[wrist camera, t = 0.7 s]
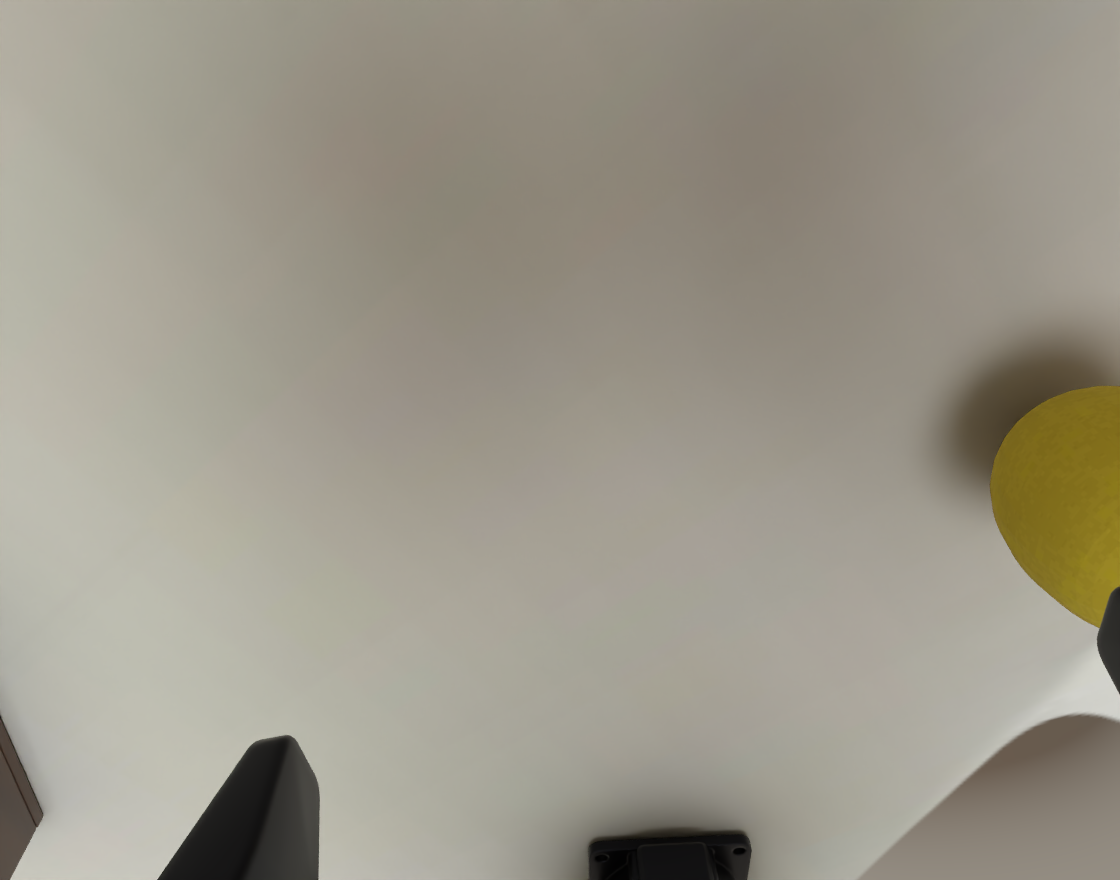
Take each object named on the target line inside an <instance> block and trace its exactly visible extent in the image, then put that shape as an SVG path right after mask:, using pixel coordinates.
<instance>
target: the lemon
mask: <svg viewBox="0 0 1120 880" xmlns="http://www.w3.org/2000/svg"><path fill="white" fill-rule="evenodd" d="M990 493H991V500H992V507H993V513H994V517H995V521H996V523H997V526H998V528H999V530H1000V532H1001V534H1002V536H1003V538H1004V540H1005V541H1006V543H1007V545H1008V547H1009V549H1010V550H1011V552H1012V554H1013V556H1014V557H1015V559H1016V560H1017V562H1018V563H1019V565H1020V566H1021V567H1022V568H1023V570H1024V571H1025V572H1026V573H1027V574H1028V575H1029V576H1030V577H1031V578H1032V579H1033V580H1034V581H1035V582H1036V583H1037V584H1038V585H1039V586H1040V587H1041V588H1042V589H1044V590H1045V591H1046V592H1047V593H1048V594H1049V595H1051V596H1052V597H1053V598H1054V599H1055V600H1056V601H1058V602H1059V603H1060V604H1061V605H1062V606H1064V607H1065V608H1066V609H1068V610H1069V611H1070V612H1072V613H1073V614H1075V615H1076V616H1078V617H1079V618H1081V619H1083V620H1084V621H1086V622H1088V623H1090V624H1092V625H1094V626H1096V627H1098V628H1100V625H1101V622H1102V619H1103V616H1104V612H1105V609H1106V606H1107V603H1108V599H1109V596H1110V594H1111V592H1112V591H1113V590H1114V589H1115V588H1117V587H1119V586H1120V386H1095V387H1089V388H1083V389H1077V390H1072V391H1069V392H1066V393H1063V394H1061V395H1058V396H1055V397H1053V398H1050V399H1048V400H1047V401H1045V402H1043V403H1042V404H1040V405H1038V406H1037V407H1035V408H1033V409H1032V410H1030V411H1029V412H1028V413H1027V414H1026V415H1025V416H1023V417H1022V418H1021V419H1020V420H1019V421H1018V422H1016V424H1015V425H1014V426H1013V428H1012V429H1011V430H1010V431H1009V433H1008V434H1007V435H1006V436H1005V438H1004V440H1003V442H1002V444H1001V446H1000V448H999V450H998V452H997V455H996V457H995V459H994V464H993V469H992V474H991V480H990Z"/></svg>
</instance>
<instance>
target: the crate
mask: <svg viewBox="0 0 1120 880" xmlns="http://www.w3.org/2000/svg"><path fill="white" fill-rule="evenodd" d="M42 818H43V814H42V812H41V809H40V807H39V805H38V803H37V800H36V798H35V796H34V794H33V791H32V789H31V787H30V785H29V782H28V780H27V778H26V775H25V773H24V771H23V769H22V766H21V764H20V762H19V760H18V757H17V755H16V753H15V751H14V748H13V746H12V744H11V741H10V739H9V737H8V735H7V732H6V730H5V728H4V726H3V723H2V721H1V719H0V880H10V878H11V877H12V875H13V873H14V871H15V869H16V867H17V865H18V863H19V861H20V859H21V857H22V855H23V853H24V852H25V850H26V848H27V846H28V844H29V842H30V840H31V838H32V836H33V834H34V832H35V830H36V827H38V826H39V824H40V822H41V820H42Z"/></svg>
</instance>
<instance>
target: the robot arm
mask: <svg viewBox="0 0 1120 880" xmlns="http://www.w3.org/2000/svg"><path fill="white" fill-rule="evenodd" d="M1097 646H1098V651H1099V654H1100V657H1101V659H1102V661H1103V663H1104V665H1105V667H1106V669H1107V671H1108V673H1109V675H1110V677H1111V679H1112V681H1113V683H1114V684H1115V686H1116V688H1117V690H1118V692H1119V694H1120V586H1119V587H1117V588H1115V589H1114V590H1113V591H1112V592H1111V594H1110V596H1109V599H1108V603H1107V606H1106V609H1105V612H1104V616H1103V619H1102V622H1101V625H1100V629H1099V632H1098V636H1097ZM319 810H320V795H319V787H318V782H317V779H316V776H315V774H314V772H313V770H312V769H311V767H310V765H309V763H308V761H307V759H306V757H305V756H304V754H303V752H302V750H301V748H300V746H299V744H298V743H297V741H296V740H295V738H293V737H291V736H289V735H284V736H278V737H273V738H267V739H262V740H259V741H256V742H255V743H253V744H252V745H251V746H250V747H249V748H248V749H247V751H246V752H245V754H244V755H243V757H242V758H241V760H240V761H239V762H238V764H237V765H236V767H235V768H234V770H233V771H232V773H231V774H230V775H229V777H228V778H227V780H226V781H225V783H224V784H223V786H222V787H221V788H220V790H219V791H218V793H217V794H216V796H215V797H214V799H213V800H212V801H211V803H210V804H209V806H208V807H207V809H206V810H205V812H204V813H203V814H202V816H201V817H200V819H199V820H198V822H197V823H196V825H195V826H194V827H193V829H192V830H191V832H190V833H189V835H188V836H187V838H186V839H185V840H184V842H183V843H182V845H181V846H180V848H179V849H178V851H177V852H176V853H175V855H174V856H173V858H172V859H171V861H170V862H169V864H168V865H167V866H166V868H165V869H164V871H163V872H162V874H161V875H160V877H159V878H158V879H157V880H318V869H319ZM751 851H752V850H751V846H750V841H749V838H748V837H747V836H744V835H719V836H699V837H679V838H660V839H640V840H620V841H601V842H595V843H593V844H592V845H590V846H589V849H588V857H589V880H747V877H748V870H749V864H750V858H751Z"/></svg>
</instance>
